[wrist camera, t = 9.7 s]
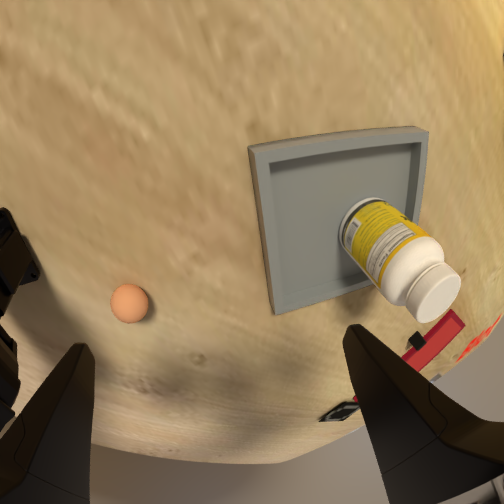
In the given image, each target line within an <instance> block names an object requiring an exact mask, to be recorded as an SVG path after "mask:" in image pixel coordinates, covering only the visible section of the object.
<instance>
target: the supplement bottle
mask: <svg viewBox="0 0 504 504" xmlns="http://www.w3.org/2000/svg"><path fill="white" fill-rule="evenodd" d="M339 238H340V242H341V245H342V247H343V248H344V249H345V251H346V252H347V253H348V254H349V255H350V257H351V258H352V259H353V260H354V261H355V262H356V264H357V265H358V266H359V267H360V268H361V269H362V271H363V272H364V273H365V274H366V275H367V276H368V278H369V279H370V280H371V281H372V283H373V284H374V285H375V286H376V287H377V289H378V290H379V291H380V292H381V294H382V295H383V296H384V297H385V298H386V299H387V300H388V301H389V302H390V303H391V304H393V305H397V306H406V308H407V309H408V310H409V312H410V313H411V314H412V315H413V317H414V318H415V319H416V320H417V321H418V322H419V323H428V322H430V321H432V320H434V319H436V318H437V317H439V316H440V315H441V314H442V313H443V312H445V311H446V310H447V308H448V307H449V306H450V305H451V304H452V302H453V301H454V299H455V298H456V296H457V294H458V292H459V289H460V286H461V279H460V277H459V275H458V274H457V273H456V272H455V271H454V270H453V269H452V268H451V267H450V266H449V265H447V264H446V263H444V253H443V250H442V248H441V246H440V245H439V243H438V242H437V241H436V240H434V239H433V238H432V237H431V236H430V235H429V234H427V233H426V232H425V231H424V230H422V229H421V228H420V227H419V226H417V225H416V224H415V223H414V222H413V221H411V220H410V219H409V218H407V217H406V216H405V215H404V214H402V213H401V212H400V211H398V210H397V209H396V208H394V207H393V206H392V205H391V204H389V203H388V202H386V201H385V200H383V199H380V198H375V197H372V198H367V199H364V200H362V201H360V202H358V203H356V204H355V205H354V206H353V207H352V208H351V209H350V210H349V211H348V212H347V213H346V215H345V216H344V218H343V220H342V223H341V226H340V230H339Z"/></svg>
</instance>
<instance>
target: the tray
mask: <svg viewBox="0 0 504 504" xmlns="http://www.w3.org/2000/svg"><path fill="white" fill-rule="evenodd" d="M428 138H429V132H428V131H426V130H423V129H421V128H418V127H415V126H405V127H388V128H374V129H363V130H352V131H343V132H334V133H326V134H318V135H311V136H304V137H297V138H291V139H284V140H278V141H273V142H267V143H261V144H256V145H251V146H247V147H248V153H249V160H250V167H251V173H252V180H253V187H254V194H255V201H256V208H257V214H258V221H259V228H260V235H261V243H262V250H263V257H264V264H265V271H266V278H267V286H268V293H269V300H270V303H271V306H272V308H273V310H274V313H275V315H278V314H282V313H285V312H289V311H292V310H295V309H299V308H302V307H305V306H309V305H312V304H315V303H318V302H321V301H325V300H328V299H331V298H334V297H337V296H340V295H343V294H346V293H349V292H352V291H355V290H358V289H361V288H364V287H367V286H370V285H372V284H373V283H372V281H371V280H370V279H369V278H368V276H367V275H366V274H365V273H364V272H363V271H362V269H361V268H360V267H359V266H358V265H357V264H356V262H355V261H354V260H353V259H352V258H351V257H350V255H349V254H348V253H347V252H346V251H345V249H344V248H343V247H342V245H341V242H340V238H339V230H340V226H341V223H342V220H343V218H344V216H345V215H346V213H347V212H348V211H349V210H350V209H351V208H352V207H353V206H354V205H355V204H356V203H358V202H360V201H362V200H364V199H367V198H372V197H375V198H380V199H383V200H385V201H386V202H388V203H389V204H391V205H392V206H393V207H394V208H396V209H397V210H398V211H400V212H401V213H402V214H404V215H405V216H406V217H407V218H409V219H410V220H411V221H413V222H414V223H415V224H416V225H417V226H418V221H419V215H420V209H421V203H422V196H423V189H424V181H425V172H426V163H427V152H428Z"/></svg>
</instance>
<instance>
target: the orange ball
mask: <svg viewBox="0 0 504 504" xmlns="http://www.w3.org/2000/svg"><path fill="white" fill-rule="evenodd" d="M110 304H111V309H112V312H113V314H114V315H115V316H116V318H117V319H119V320H120V321H122V322H125V323H135V322H138V321H140V320H141V319H142V318H143V317H144V316H145V315H146V313H147V310H148V299H147V296H146V294H145V293H144V291H143V290H142V289H141V288H139V287H138V286H136V285H132V284H125V285H122V286H120V287H118V288H117V289H116V290H115V291H114V293H113V294H112V297H111V302H110Z"/></svg>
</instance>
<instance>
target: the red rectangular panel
mask: <svg viewBox="0 0 504 504" xmlns="http://www.w3.org/2000/svg"><path fill="white" fill-rule="evenodd" d="M465 326H466V325H465V324H464V323H463V322H462V321H461V319H460V318H459V317H458V316H457V315H456V314H455V312H454V311H453V310H452V309H450V310H449V311H448V312H447V313H446V315H445V316H444V317H443V318H442V319H441V320H440V321H439V322H438V323H437V324H436V325H435V326H434V327H433V328H432V329H431V330H430V331H429V332H428V333H427V334H426V335H425V336H424V337H422V335H421V334H420V333H419V332H418V331H417V332H416V333H415V334H414V335H412V336H411V337H410V338H409V339H408V340H409V341H410V343H411V344H412V345H413V347H412V348H411V349H410V350H409V351H408V352H407V353H406V354H404V355H403V356H402V357H401V358H402V359H403V360H404V361H405V362H407V363H408V364H409V365H410V366H411V367H413V368H414V369H415V370H416V371H417V372H419V371H420V370H421V369H423V368H424V367H425V366H426V365H427V364H428V363H429V362H430V361H431V360H432V359H433V358H434V357H435V356H436V355H437V354H439V353H440V352H441V351H442V350H443V349H444V348H445V347H446V346H447V345H448V344H449V343H450V342H451V341H452V340H453V338H454V337H455V336H456V335H457V334H458V333H459V332H460V331H461V330H462V329H463V328H464V327H465ZM353 399H354V400H355V402H358V400H357V397H356V396H355V397H353ZM359 409H360V406H359V403H344V404H342V405H341V406H339V407H338V408H337V409H335V410H334V411H333V412H331V413H330V414H328V415H327V416H326V417H324V418H323V419H321V420H320V421H318V422H327V421H343V420H345V419H346V418H348V417H349V416H351V415H352V414H353V413H355V412H356V411H358V410H359Z"/></svg>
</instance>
